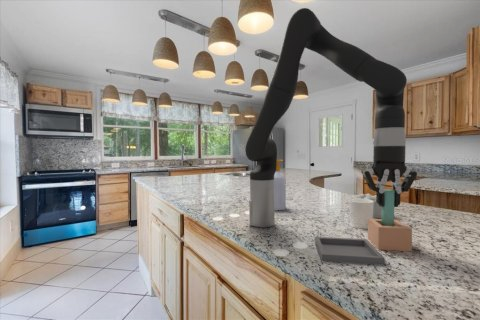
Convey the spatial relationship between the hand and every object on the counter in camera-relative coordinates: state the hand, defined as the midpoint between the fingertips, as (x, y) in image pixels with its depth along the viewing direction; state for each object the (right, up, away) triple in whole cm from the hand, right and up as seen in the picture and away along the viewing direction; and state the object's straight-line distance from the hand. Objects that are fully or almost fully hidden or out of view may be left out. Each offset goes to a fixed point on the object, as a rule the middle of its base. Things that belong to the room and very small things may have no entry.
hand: (388, 205), depth 66 cm
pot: (0, -12, 0) cm, 12 cm away
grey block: (+14, -11, +35) cm, 40 cm away
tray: (-14, -12, -4) cm, 19 cm away
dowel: (0, -8, 0) cm, 8 cm away
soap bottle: (-24, -11, +47) cm, 54 cm away
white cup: (+1, -12, +17) cm, 21 cm away
